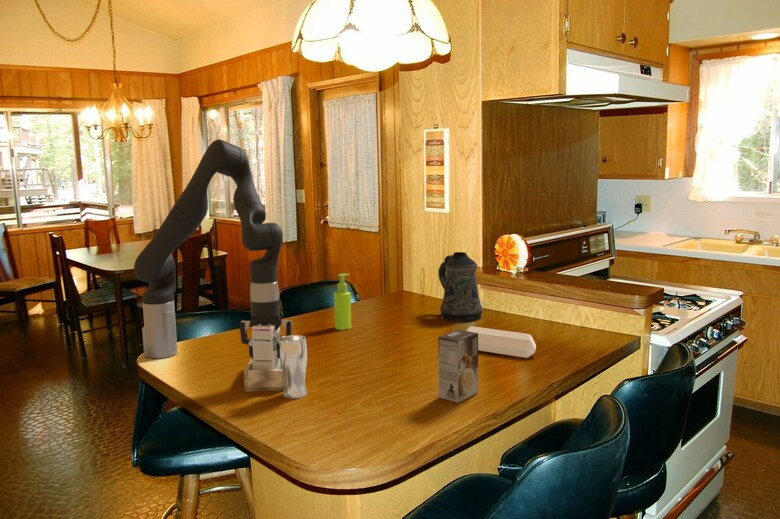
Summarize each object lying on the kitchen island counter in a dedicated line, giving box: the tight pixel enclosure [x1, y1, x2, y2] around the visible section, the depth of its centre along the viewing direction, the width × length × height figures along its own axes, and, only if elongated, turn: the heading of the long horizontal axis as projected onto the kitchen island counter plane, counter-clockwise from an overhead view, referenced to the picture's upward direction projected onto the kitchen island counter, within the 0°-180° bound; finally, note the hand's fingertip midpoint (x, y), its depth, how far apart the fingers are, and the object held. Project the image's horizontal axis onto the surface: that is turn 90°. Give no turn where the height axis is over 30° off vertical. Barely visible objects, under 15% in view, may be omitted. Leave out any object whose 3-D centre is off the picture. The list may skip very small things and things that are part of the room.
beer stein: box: [437, 251, 484, 322], centre depth 234 cm, size 16×19×25 cm
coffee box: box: [437, 329, 479, 404], centre depth 153 cm, size 9×6×16 cm
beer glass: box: [280, 334, 308, 400], centre depth 155 cm, size 7×7×15 cm
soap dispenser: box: [333, 272, 352, 331], centre depth 220 cm, size 6×7×20 cm
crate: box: [243, 357, 284, 393], centre depth 169 cm, size 11×20×6 cm, turn 3°
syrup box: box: [251, 325, 281, 370], centre depth 163 cm, size 6×6×14 cm
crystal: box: [466, 325, 537, 359], centre depth 191 cm, size 7×7×24 cm
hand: (267, 357), depth 163 cm, fingers open, 6 cm apart
